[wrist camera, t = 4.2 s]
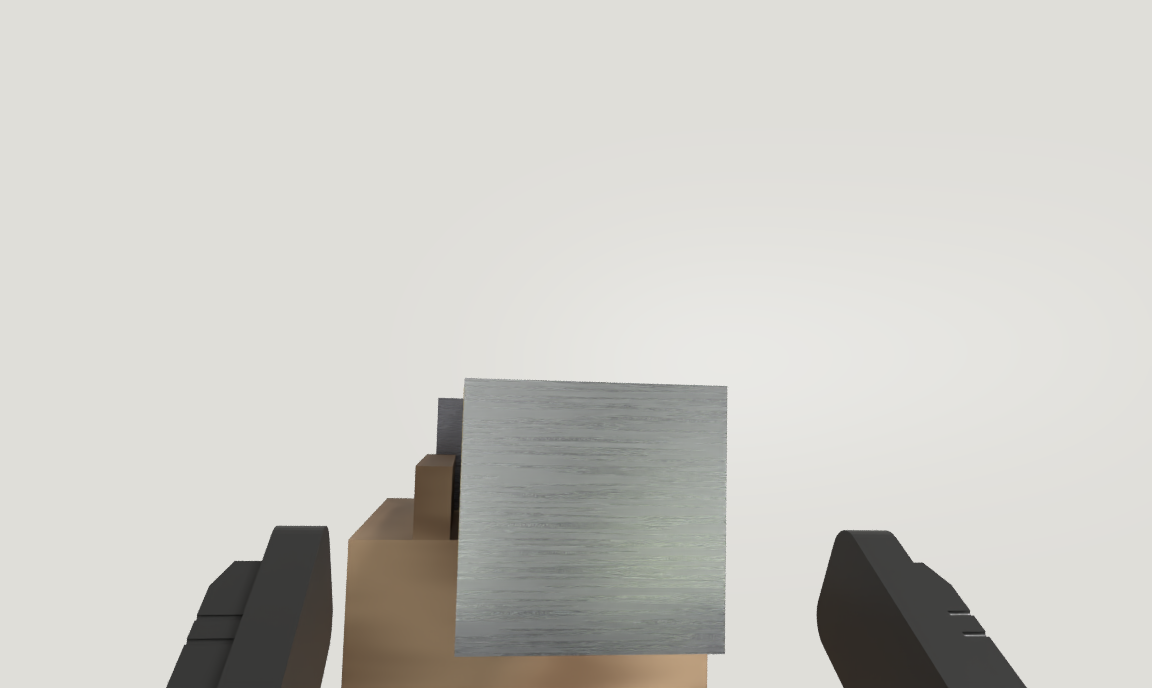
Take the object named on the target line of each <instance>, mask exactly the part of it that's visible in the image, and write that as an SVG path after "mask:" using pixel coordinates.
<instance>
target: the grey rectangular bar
mask: <svg viewBox="0 0 1152 688" xmlns="http://www.w3.org/2000/svg"><path fill="white" fill-rule="evenodd" d="M436 454H437V455H456V465H455V491H454V511H459V533H458V560H457V563H458V573H457V600H456V627H455V654H454V657H491V656H582V655H672V654H725V564H726V563H725V562H726V561H725V560H726V463H727V462H726V460H727V459H726V458H727V386H703V385H670V384H639V383H606V382H574V381H572V382H571V381H542V380H541V381H539V380H510V379H509V380H508V379H477V378H476V379H475V378H465V385H464V399H457V398H456V399H455V398H439V400H438V425H437V451H436Z"/></svg>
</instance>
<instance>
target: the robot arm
mask: <svg viewBox="0 0 1152 688" xmlns="http://www.w3.org/2000/svg"><path fill="white" fill-rule="evenodd" d="M332 614H333V605H332V582H331V562H330V542H329V531H328V528H327V526H276V527H275V528H274V530H273V532H272V534H271V537H270V540H269V543H268V546H267V548H266V552H265V554H264V557H263V560H262V561H234V562H233V563H232V564H231V565H230V566H229V567H228V568H227V569H226V570H225V571H224V572H223V573H222V574H221V575H220V576H219V577H218V578H217V579H216V580H215V581H214V582H213V583H212V584H211V585H210V586H209V588H208V590H207V593H206V595H205V597H204V600H203V602H202V604H201V607H200V609H199V612H198V614H197V620H196V621H194V623H193V626H192V628H191V630H190V633H189V635H188V637H187V644H186V645H184V647H183V649H182V652H181V654H180V656H179V659H178V661H177V663H176V666H175V668H174V671H173V673H172V676H171V678H170V680H169V682H168V685H167V687H166V688H320V687H321V683H322V678H323V674H324V668H325V664H326V660H327V655H328V650H329V645H330V638H331V630H332ZM817 626H818V632H819V636H820V639H821V642H822V644H823V646H824V649H825V651H826V653H827V655H828V656H829V659H830V661H831V663H832V665H833V667H834V669H835V671H836V673H837V675H838V677H839V679H840V681H841V683H842V685H843V687H844V688H1027V687H1026V686H1025V685H1024V683H1023V682H1022V681H1021V679H1020V678H1019V677H1018V675H1017V674H1016V673H1015V671H1014V670H1013V668H1012V667H1011V666H1010V664H1009V663H1008V662H1007V660H1006V659H1005V657H1004V656H1003V655H1002V653H1001V652H1000V651H999V649H998V648H997V647H996V645H995V644H994V643H993V641H992V640H991V638H990V637H986V635H985V630H984V629H983V628H982V626H981V625H980V624H979V622H978V621H977V619H976V618H975V617H974V616H971V615H970V610H969V608H968V607H967V606H966V604H965V603H964V602H963V601H962V599H961V598H960V596H959V595H958V593H957V592H956V591H955V589H954V588H953V587H952V585H951V584H949V583H948V582H947V581H946V580H944V579H943V578H942V577H940V576H939V575H938V574H937V573H935V572H934V571H933V570H932V569H930V568H929V567H928V566H926V565H925V564H924V563H913V561H912V560H911V558H910V557H909V556H908V554H907V553H906V551H905V550H904V549H903V547H902V546H901V544H900V543H899V541H898V540H897V538H896V537H895V536H894V535H893V534H892V533H891V532H889V531H869V530H868V531H867V530H866V531H865V530H864V531H863V530H862V531H861V530H860V531H859V530H843V531H841V532H840V533H839V534H838V535H837V537H836V539H835V542H834V545H833V549H832V552H831V556H830V560H829V563H828V567H827V571H826V575H825V578H824V582H823V586H822V589H821V593H820V596H819V600H818V605H817Z"/></svg>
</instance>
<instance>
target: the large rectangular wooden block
mask: <svg viewBox="0 0 1152 688" xmlns="http://www.w3.org/2000/svg"><path fill="white" fill-rule="evenodd" d="M455 465H456V455H437V454H432V455H431V454H427V455H426V456H425V457H424V458H423V459H422V460H421V461H420V462H419V463H418V464H417V465H416V471H415V473H416V474H415V495H414V499H407V498H403V499H402V498H400V499H399V498H387V499H386V500H385V502H384V503H383V504H382V505H381V506H380V507H379V508H378V509H377V510H376V511H375V512H374V513H373V514H372V516H370V518H368V520H367V521H366V522H365V523H364V524H363V525H362V526H361V527H360V528H359V529H358V530H357V531H356V532H355V533H354V534H353V535H352V537H351V538H350V539H349V541H348V543H349V544H348V563H347V584H346V604H345V624H344V645H343V665H342V667H343V668H342V687H341V688H707V654H672V655H582V656H491V657H454V654H455V627H456V600H457V573H458V563H457V560H458V533H459V511H454V491H455Z"/></svg>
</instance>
